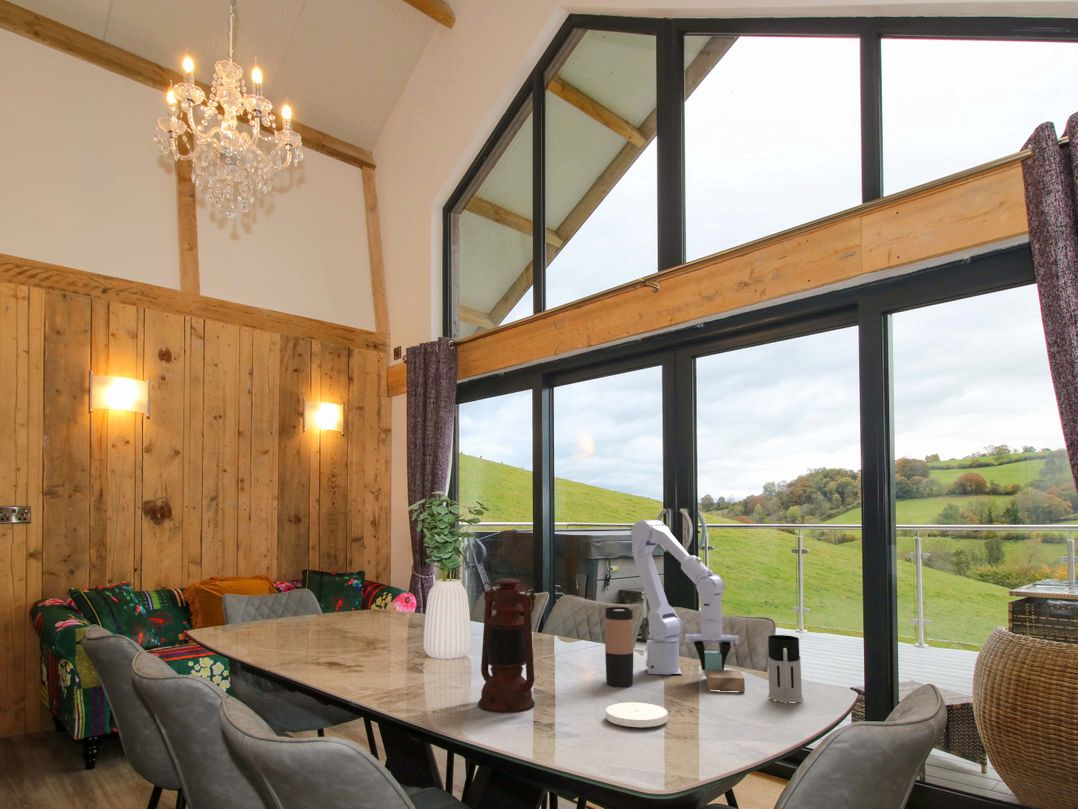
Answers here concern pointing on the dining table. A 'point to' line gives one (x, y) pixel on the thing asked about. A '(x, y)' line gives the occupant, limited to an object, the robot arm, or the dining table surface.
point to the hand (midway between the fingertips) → (712, 669)
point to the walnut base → (725, 680)
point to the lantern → (507, 649)
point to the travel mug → (619, 646)
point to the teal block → (712, 661)
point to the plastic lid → (636, 714)
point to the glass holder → (784, 668)
